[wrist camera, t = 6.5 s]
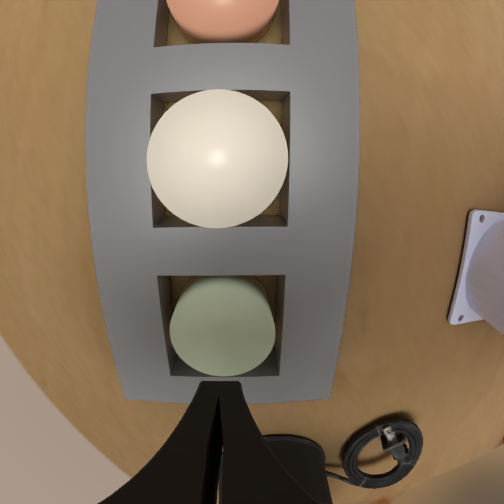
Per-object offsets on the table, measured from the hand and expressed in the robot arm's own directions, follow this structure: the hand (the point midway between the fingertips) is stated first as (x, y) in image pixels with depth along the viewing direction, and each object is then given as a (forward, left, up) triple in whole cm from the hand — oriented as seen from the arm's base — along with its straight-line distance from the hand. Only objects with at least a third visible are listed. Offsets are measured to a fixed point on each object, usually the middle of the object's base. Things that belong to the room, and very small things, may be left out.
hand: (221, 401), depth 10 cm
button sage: (0, 0, -7) cm, 7 cm away
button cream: (0, -8, -6) cm, 10 cm away
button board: (0, -8, -7) cm, 11 cm away
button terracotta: (0, -16, -7) cm, 17 cm away
